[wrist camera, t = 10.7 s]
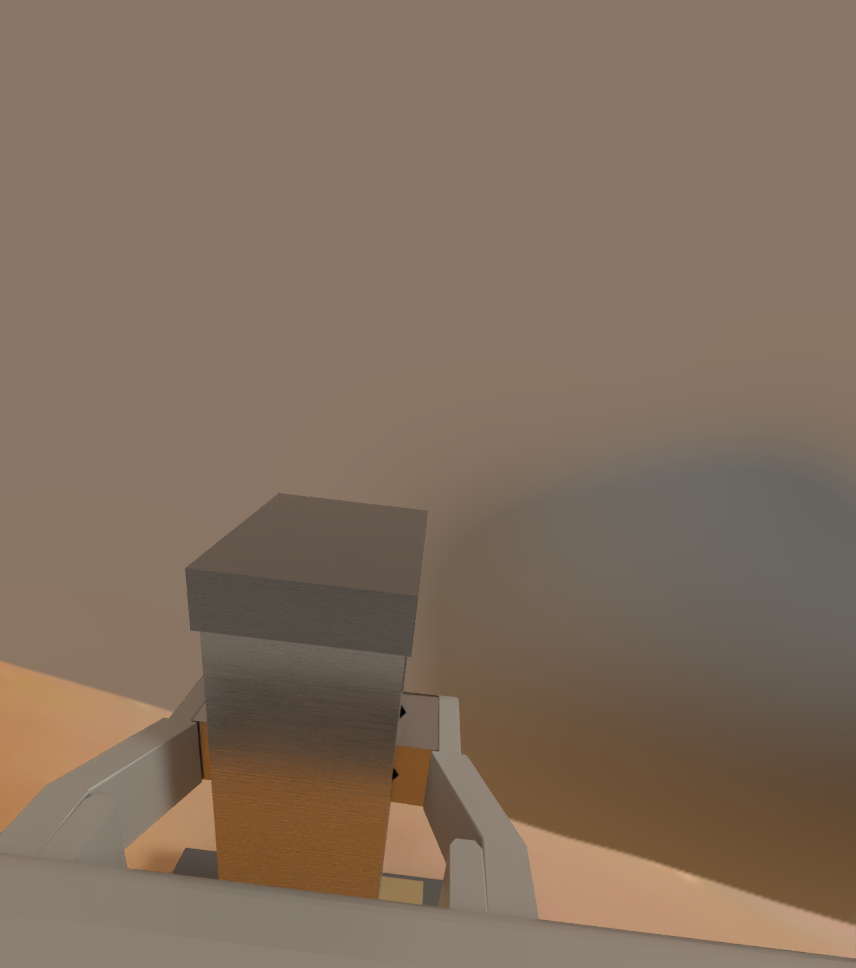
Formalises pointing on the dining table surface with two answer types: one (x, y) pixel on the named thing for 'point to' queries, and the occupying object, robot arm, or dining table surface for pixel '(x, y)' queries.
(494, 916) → the robot arm
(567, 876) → the dining table surface
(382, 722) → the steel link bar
